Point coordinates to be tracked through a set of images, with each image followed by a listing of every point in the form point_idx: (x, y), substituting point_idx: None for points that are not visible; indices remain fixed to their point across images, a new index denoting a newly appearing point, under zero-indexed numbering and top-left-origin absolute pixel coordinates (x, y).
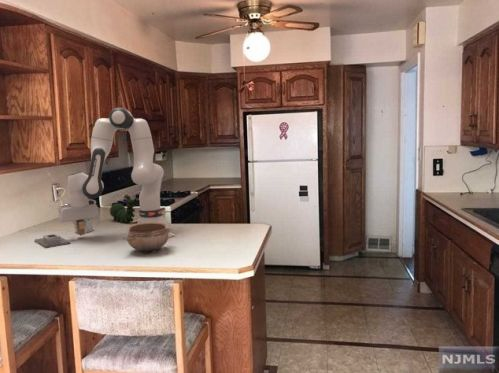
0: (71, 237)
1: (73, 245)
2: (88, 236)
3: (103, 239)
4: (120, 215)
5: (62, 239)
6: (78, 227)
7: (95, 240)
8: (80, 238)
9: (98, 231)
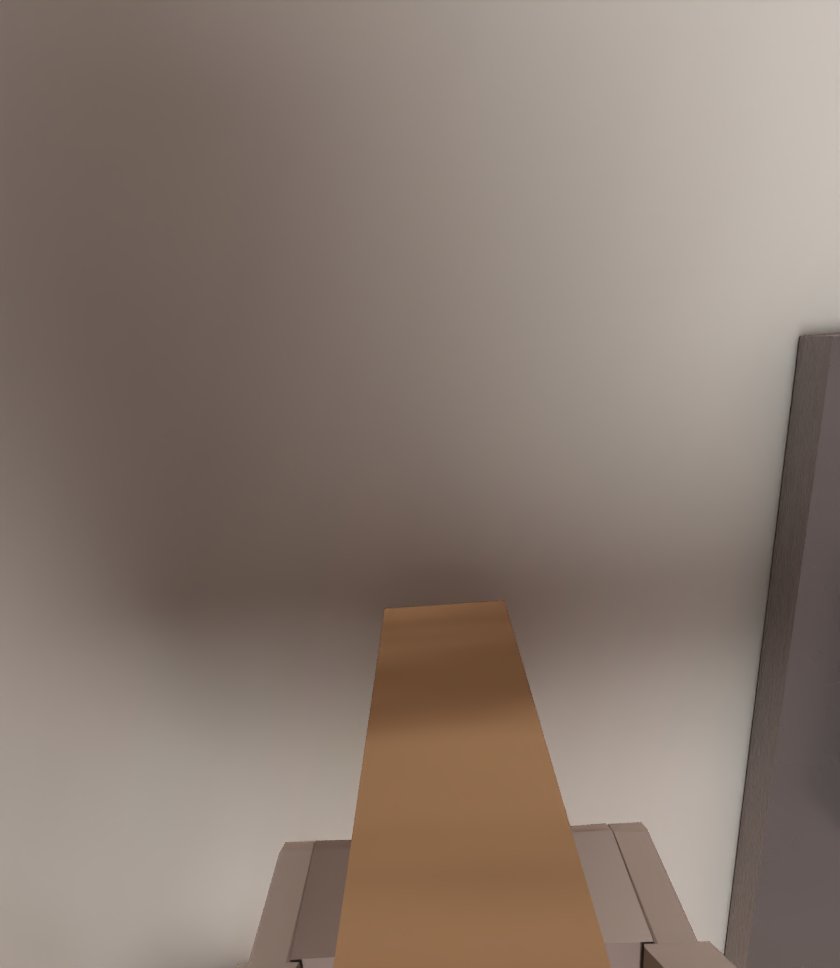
0: None
1: (829, 91)
2: (287, 724)
3: (61, 221)
4: None
5: (829, 696)
6: None
7: (246, 257)
8: None
9: (59, 946)
